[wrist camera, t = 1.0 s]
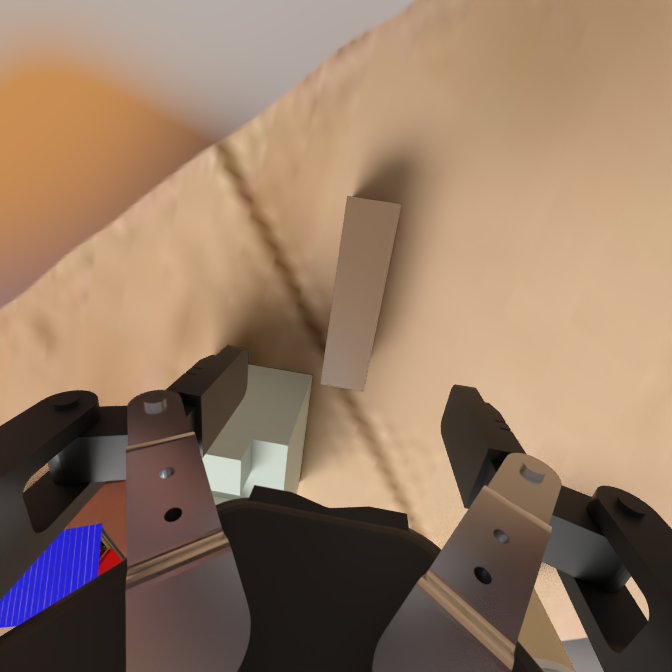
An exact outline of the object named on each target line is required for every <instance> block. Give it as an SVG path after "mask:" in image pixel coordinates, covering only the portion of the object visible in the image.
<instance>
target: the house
mask: <svg viewBox="0 0 672 672" xmlns="http://www.w3.org/2000/svg"><path fill="white" fill-rule="evenodd" d="M101 535H102V536H103V537H104V538H103V537H102V536H101ZM105 540H106V541H107V542H108V543H107V542H106V541H105ZM101 541H102V543H103V544H104V545H105V546H106V547H103V546H102V544H101V543H100V542H101ZM109 545H110V546H111V547H110V546H109ZM106 549H107V550H106ZM126 558H127V512H126V480H125V481H120V482H115V483H110V484H105V485H103V486H102V487H101V488H100V489H99V490H98V492H97V493H96V494H95V495H94V496H93V497H92V498H91V499H90V501H89V502H88V503H87V504H86V505H85V506H84V507H83V508H82V509H81V511H80V512H79V513H78V514H77V515H76V516H75V517H74V518H73V520H72V521H71V522H70V523H69V524H68V525H67V526H66V527H65V529H64V530H63V531H62V532H61V533H60V534H59V535H58V536H57V537H56V539H55V540H54V541H53V542H52V543H51V544H50V545H49V546H48V548H47V549H46V550H45V551H44V552H43V553H42V554H41V555H40V557H39V558H38V559H37V560H36V561H35V562H34V563H33V564H32V565H31V567H30V568H29V569H28V570H27V571H26V572H25V573H24V574H23V576H22V577H21V578H20V579H19V580H18V581H17V582H16V583H15V585H14V586H13V587H12V588H11V589H10V590H9V591H8V592H7V594H6V595H5V596H4V597H3V598H2V599H1V600H0V628H2V627H12V626H18V625H20V624H21V623H23V622H25V621H26V620H28V619H29V618H31V617H33V616H34V615H36V614H37V613H39V612H41V611H42V610H44V609H46V608H47V607H49V606H50V605H52V604H54V603H55V602H57V601H58V600H60V599H62V598H63V597H65V596H67V595H68V594H70V593H71V592H73V591H75V590H76V589H78V588H79V587H81V586H83V585H84V584H86V583H88V582H89V581H91V580H92V579H94V578H96V577H97V576H99V575H100V574H102V573H104V572H105V571H107V570H109V569H110V568H112V567H113V566H115V565H117V564H118V563H120V562H121V561H123V560H125V559H126Z"/></svg>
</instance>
